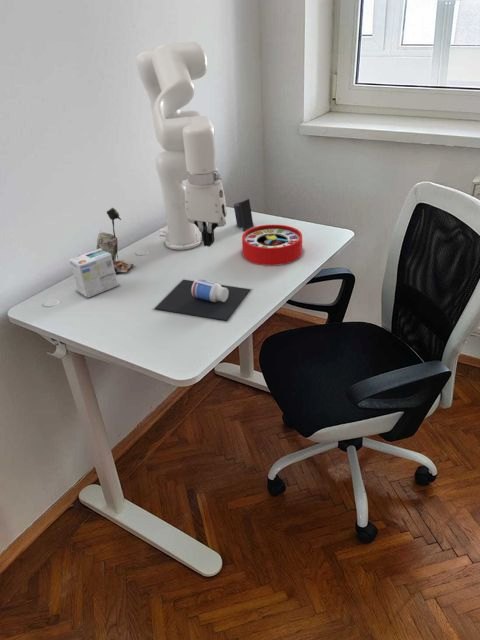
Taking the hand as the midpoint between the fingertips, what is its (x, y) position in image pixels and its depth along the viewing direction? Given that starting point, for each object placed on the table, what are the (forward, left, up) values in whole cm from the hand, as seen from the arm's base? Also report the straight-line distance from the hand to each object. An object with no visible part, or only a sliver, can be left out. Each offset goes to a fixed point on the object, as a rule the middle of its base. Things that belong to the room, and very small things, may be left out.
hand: (208, 244), depth 142 cm
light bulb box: (-37, -5, -17) cm, 41 cm away
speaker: (-12, +53, -17) cm, 57 cm away
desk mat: (-3, -2, -17) cm, 17 cm away
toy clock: (+6, +34, -17) cm, 39 cm away
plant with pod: (-39, +8, -17) cm, 43 cm away
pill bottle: (-5, -1, -14) cm, 15 cm away
